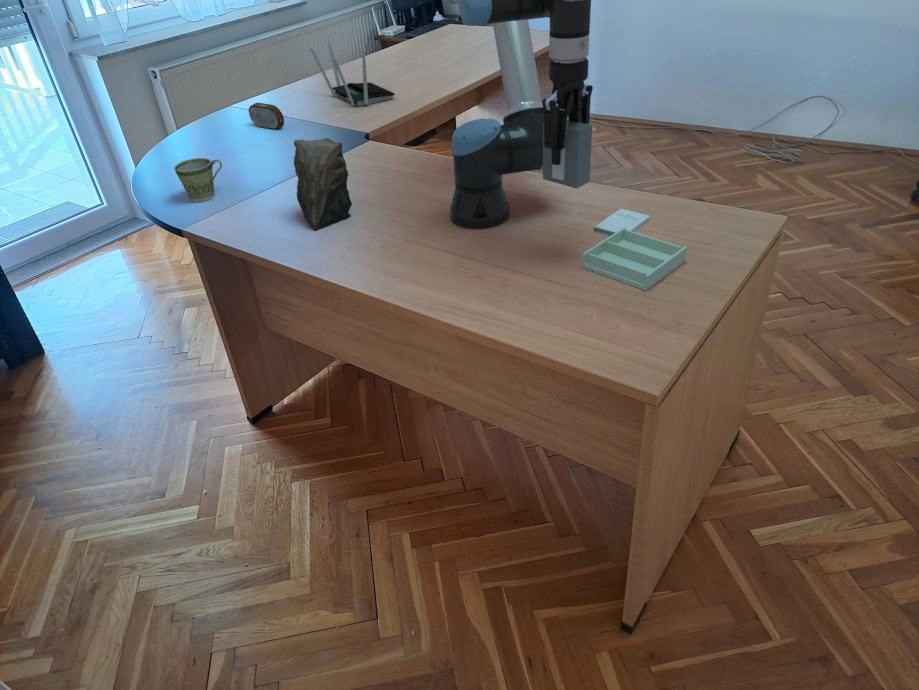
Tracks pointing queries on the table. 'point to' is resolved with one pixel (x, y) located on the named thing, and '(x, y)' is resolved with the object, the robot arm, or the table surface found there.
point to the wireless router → (355, 85)
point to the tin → (266, 116)
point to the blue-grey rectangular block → (572, 155)
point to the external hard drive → (621, 222)
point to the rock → (321, 182)
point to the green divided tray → (634, 258)
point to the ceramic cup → (197, 178)
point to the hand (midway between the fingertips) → (566, 174)
